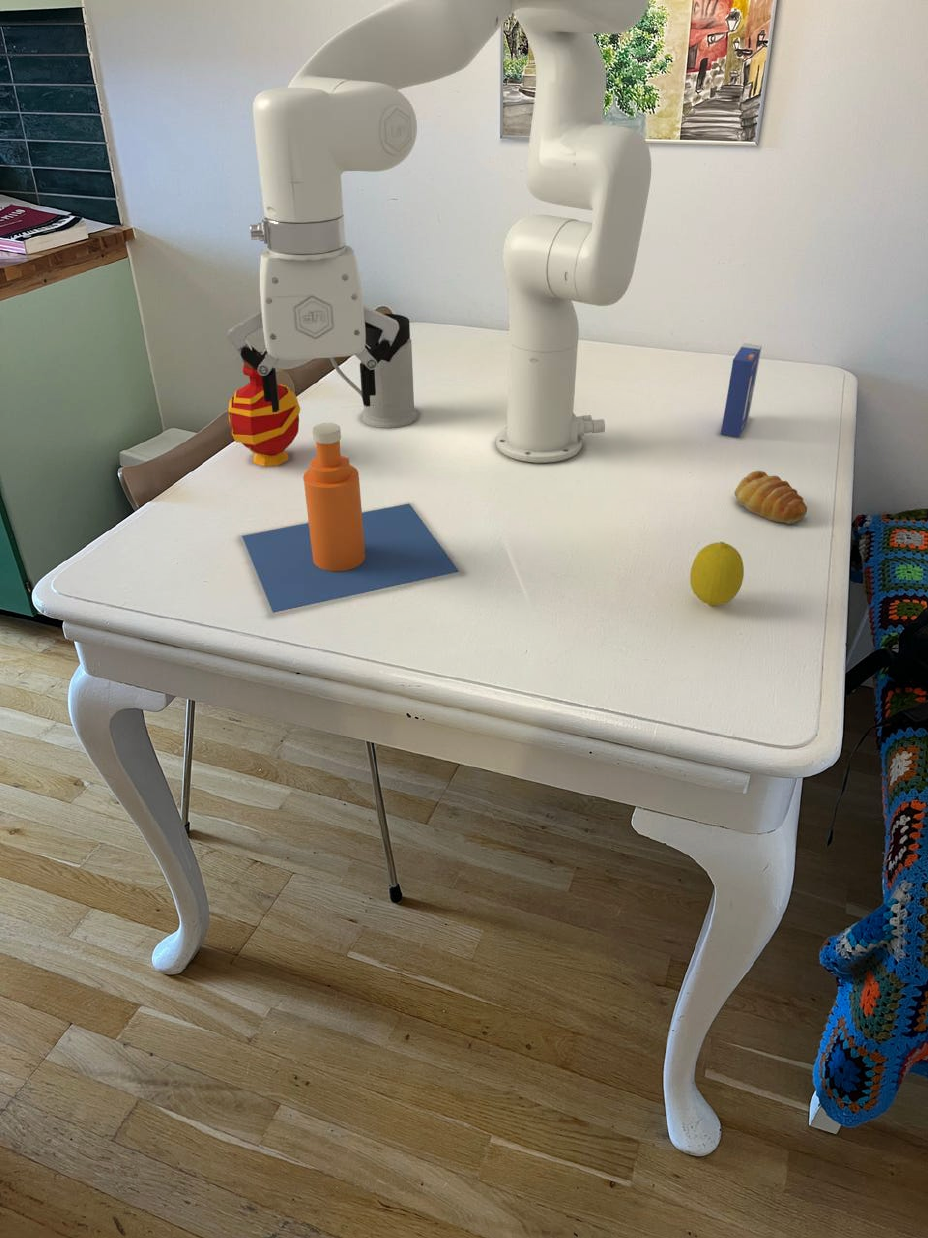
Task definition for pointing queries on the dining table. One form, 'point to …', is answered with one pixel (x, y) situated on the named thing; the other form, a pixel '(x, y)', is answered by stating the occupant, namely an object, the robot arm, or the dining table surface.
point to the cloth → (391, 559)
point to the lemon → (717, 573)
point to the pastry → (770, 498)
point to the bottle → (333, 504)
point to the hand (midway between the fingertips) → (321, 404)
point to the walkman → (741, 389)
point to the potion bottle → (263, 420)
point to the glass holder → (390, 380)
